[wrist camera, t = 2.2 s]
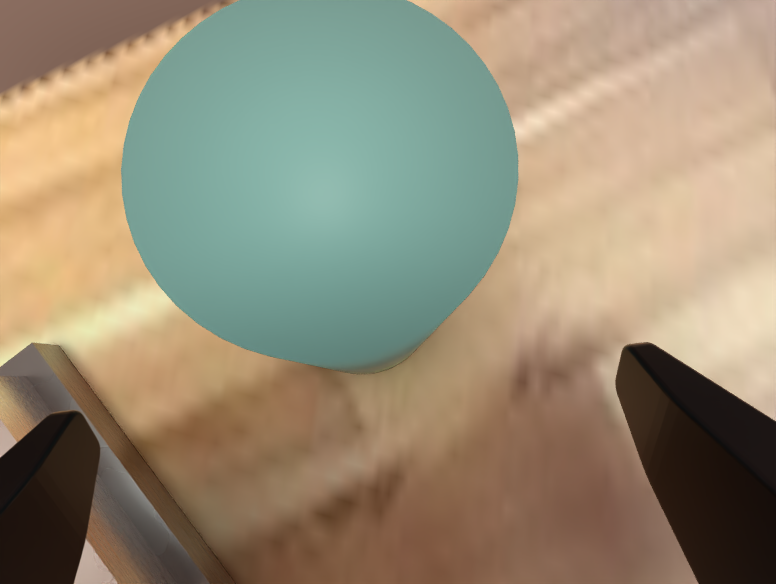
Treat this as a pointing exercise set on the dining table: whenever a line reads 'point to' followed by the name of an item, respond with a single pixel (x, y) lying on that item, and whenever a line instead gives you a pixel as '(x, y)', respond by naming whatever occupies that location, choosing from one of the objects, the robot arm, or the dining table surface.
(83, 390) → the socket board
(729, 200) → the dining table surface
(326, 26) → the teal tall cylinder
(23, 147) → the dining table surface
